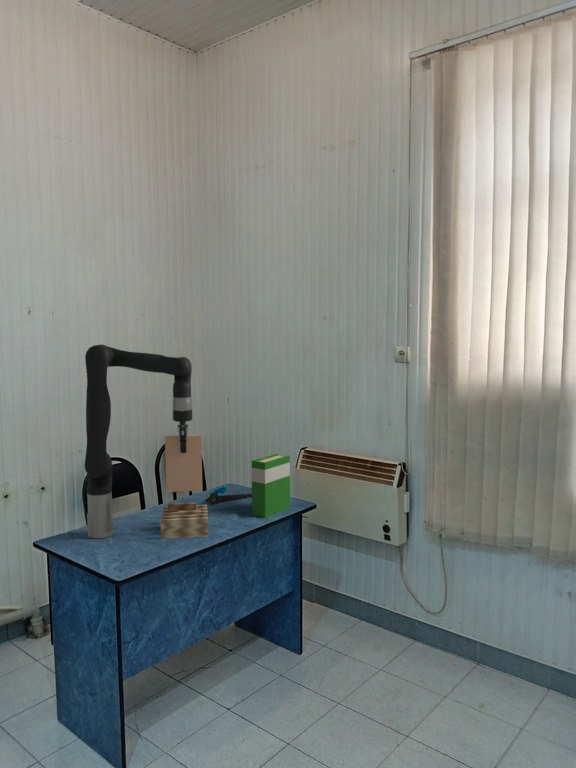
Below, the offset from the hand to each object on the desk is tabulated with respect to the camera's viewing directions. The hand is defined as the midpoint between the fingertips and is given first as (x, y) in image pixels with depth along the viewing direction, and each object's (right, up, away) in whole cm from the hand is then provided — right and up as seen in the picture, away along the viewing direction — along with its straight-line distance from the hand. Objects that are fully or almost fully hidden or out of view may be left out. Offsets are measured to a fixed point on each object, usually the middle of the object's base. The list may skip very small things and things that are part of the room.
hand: (183, 452), depth 251 cm
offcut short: (+2, -31, +2) cm, 32 cm away
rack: (0, -33, +4) cm, 33 cm away
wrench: (+17, -29, +48) cm, 58 cm away
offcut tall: (-1, -31, +6) cm, 32 cm away
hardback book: (+34, -30, +32) cm, 55 cm away
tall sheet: (0, -16, +2) cm, 16 cm away
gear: (+8, -28, +49) cm, 57 cm away
